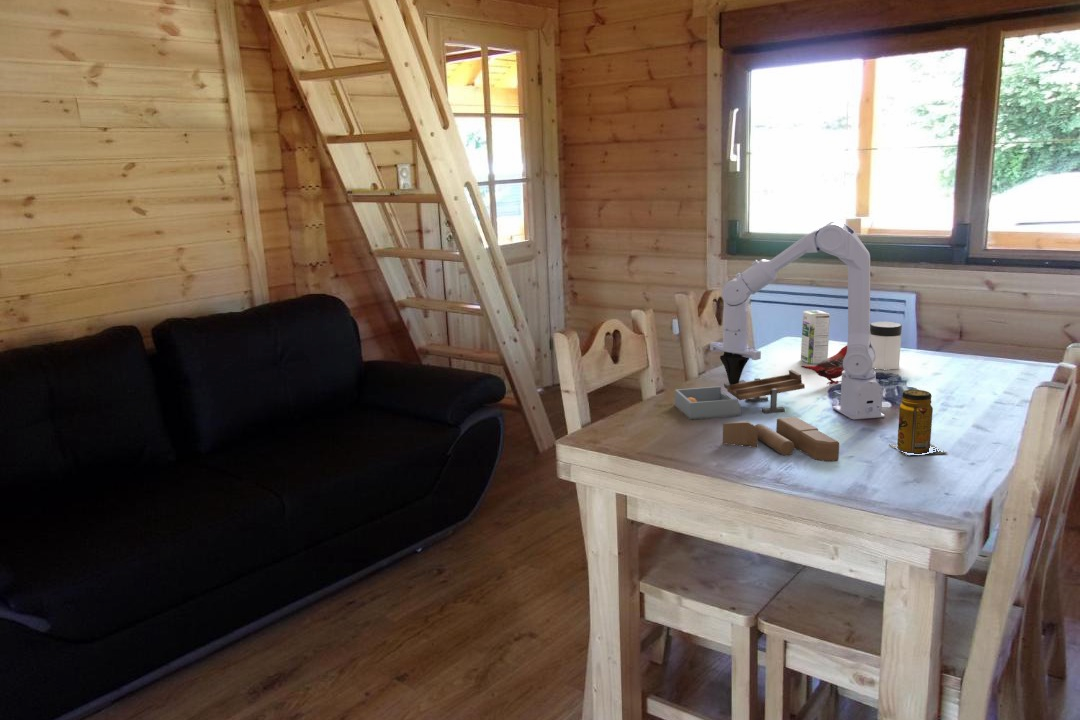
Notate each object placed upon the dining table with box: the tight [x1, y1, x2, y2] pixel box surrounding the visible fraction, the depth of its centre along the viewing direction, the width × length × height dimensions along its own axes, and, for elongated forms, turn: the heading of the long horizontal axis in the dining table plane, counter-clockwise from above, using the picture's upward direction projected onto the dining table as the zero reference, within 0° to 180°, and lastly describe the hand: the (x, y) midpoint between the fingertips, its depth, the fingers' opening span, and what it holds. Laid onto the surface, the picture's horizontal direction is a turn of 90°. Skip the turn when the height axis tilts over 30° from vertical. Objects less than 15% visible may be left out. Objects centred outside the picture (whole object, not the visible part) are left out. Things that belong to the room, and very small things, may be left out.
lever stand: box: [745, 377, 786, 415], centre depth 200 cm, size 5×11×6 cm, turn 8°
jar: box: [870, 321, 903, 371], centre depth 231 cm, size 9×8×12 cm
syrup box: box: [800, 309, 831, 365], centre depth 240 cm, size 6×6×14 cm
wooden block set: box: [722, 416, 840, 462], centre depth 170 cm, size 17×6×18 cm
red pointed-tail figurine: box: [800, 345, 847, 386], centre depth 215 cm, size 3×18×10 cm, turn 112°
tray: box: [674, 385, 741, 421], centre depth 198 cm, size 12×12×4 cm
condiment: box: [889, 389, 949, 457], centre depth 167 cm, size 7×8×12 cm
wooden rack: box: [723, 369, 806, 401], centre depth 201 cm, size 16×12×3 cm
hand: (733, 383), depth 204 cm, fingers closed, pressing on wooden rack
